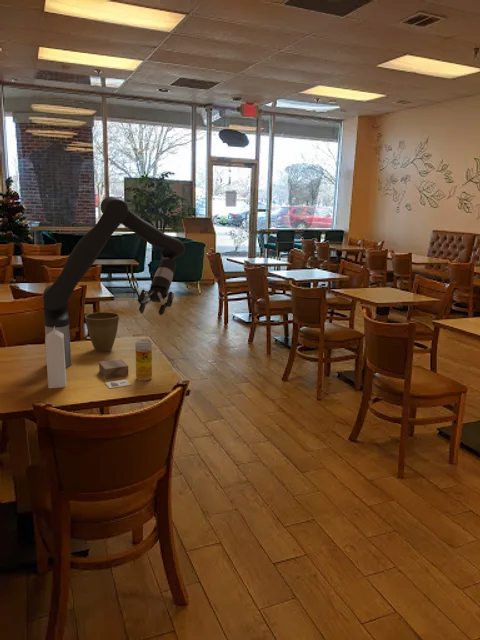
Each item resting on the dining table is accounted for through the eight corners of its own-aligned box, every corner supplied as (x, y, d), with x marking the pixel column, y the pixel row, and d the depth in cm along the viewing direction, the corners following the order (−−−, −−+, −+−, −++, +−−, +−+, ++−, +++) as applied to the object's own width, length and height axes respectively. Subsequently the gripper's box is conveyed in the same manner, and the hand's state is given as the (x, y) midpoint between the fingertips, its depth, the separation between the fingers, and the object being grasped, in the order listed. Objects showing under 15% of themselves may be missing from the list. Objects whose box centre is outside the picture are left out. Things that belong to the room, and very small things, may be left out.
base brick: (105, 378, 194) (105, 369, 193) (99, 371, 202) (99, 362, 201) (128, 375, 199) (128, 365, 198) (121, 368, 206) (121, 359, 205)
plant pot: (126, 349, 231) (125, 315, 227) (98, 356, 220) (97, 321, 216) (107, 342, 241) (106, 310, 237) (79, 349, 230) (78, 314, 226)
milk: (48, 388, 183) (44, 330, 178) (49, 382, 189) (45, 325, 184) (66, 387, 185) (62, 329, 180) (66, 381, 191) (63, 325, 185)
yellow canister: (138, 381, 192) (138, 344, 189) (134, 376, 198) (133, 339, 194) (154, 379, 195) (153, 342, 192) (149, 374, 200) (148, 338, 197)
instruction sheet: (109, 388, 185) (109, 387, 185) (105, 383, 190) (105, 382, 190) (130, 385, 189) (130, 384, 189) (125, 380, 194) (125, 379, 194)
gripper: (143, 274, 210) (131, 306, 203) (175, 276, 206) (163, 309, 199) (150, 284, 217) (138, 316, 209) (180, 287, 213) (169, 319, 205)
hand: (150, 313), depth 204 cm, fingers open, 8 cm apart
